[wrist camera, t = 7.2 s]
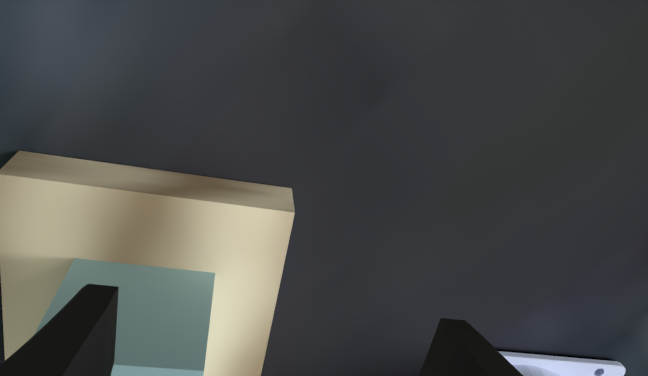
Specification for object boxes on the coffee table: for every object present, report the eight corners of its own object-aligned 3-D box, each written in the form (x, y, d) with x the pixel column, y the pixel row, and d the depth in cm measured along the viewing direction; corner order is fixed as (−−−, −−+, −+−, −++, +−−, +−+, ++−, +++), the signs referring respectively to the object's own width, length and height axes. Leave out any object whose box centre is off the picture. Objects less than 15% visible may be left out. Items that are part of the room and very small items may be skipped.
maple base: (291, 188, 22) (294, 212, 20) (253, 376, 26) (253, 410, 24) (18, 150, 20) (-5, 173, 18) (25, 360, 24) (6, 396, 22)
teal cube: (215, 272, 21) (204, 370, 16) (200, 372, 23) (187, 483, 18) (74, 258, 20) (21, 358, 15) (73, 363, 22) (25, 478, 17)
